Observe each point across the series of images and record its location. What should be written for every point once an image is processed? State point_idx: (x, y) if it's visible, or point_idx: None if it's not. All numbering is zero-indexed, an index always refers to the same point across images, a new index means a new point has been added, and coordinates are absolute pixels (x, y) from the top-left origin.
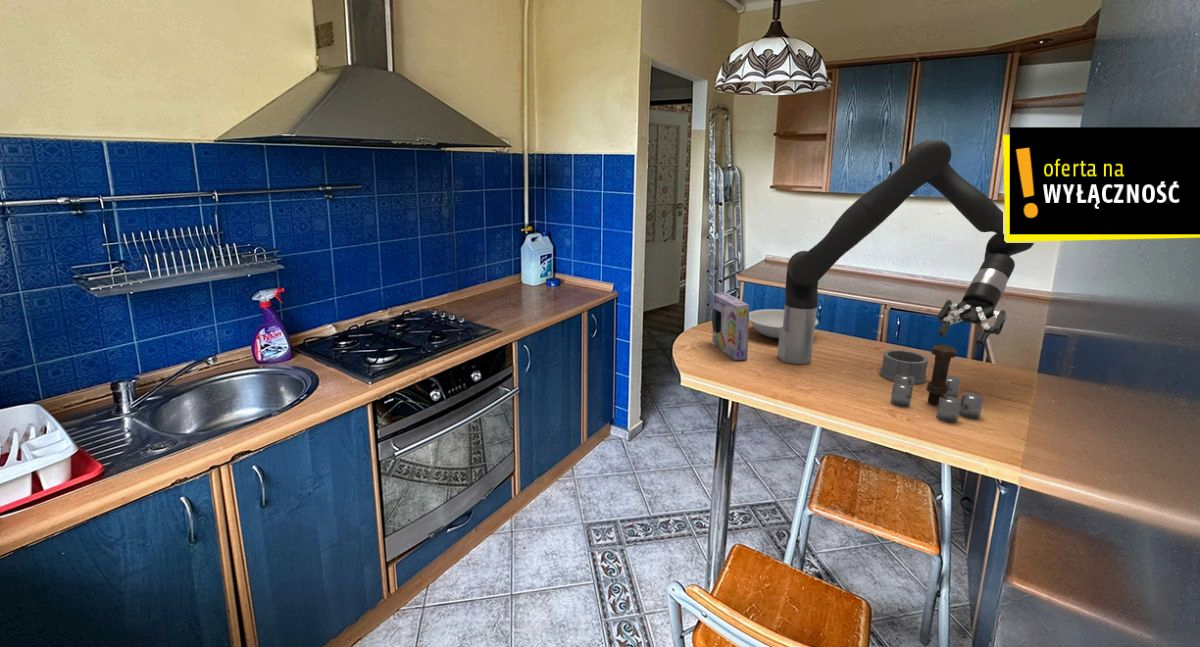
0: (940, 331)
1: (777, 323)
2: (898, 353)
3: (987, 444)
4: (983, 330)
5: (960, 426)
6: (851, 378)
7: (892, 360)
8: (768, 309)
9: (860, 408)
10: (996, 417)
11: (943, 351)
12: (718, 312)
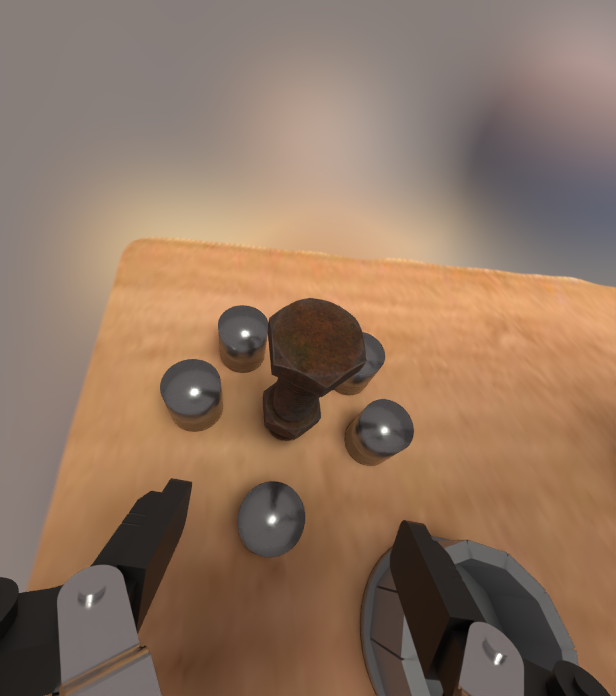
0: (425, 526)
1: None
2: None
3: (159, 283)
4: (134, 559)
5: (211, 331)
6: (503, 467)
7: (490, 548)
8: None
9: (388, 307)
10: (126, 441)
11: (311, 299)
12: None
